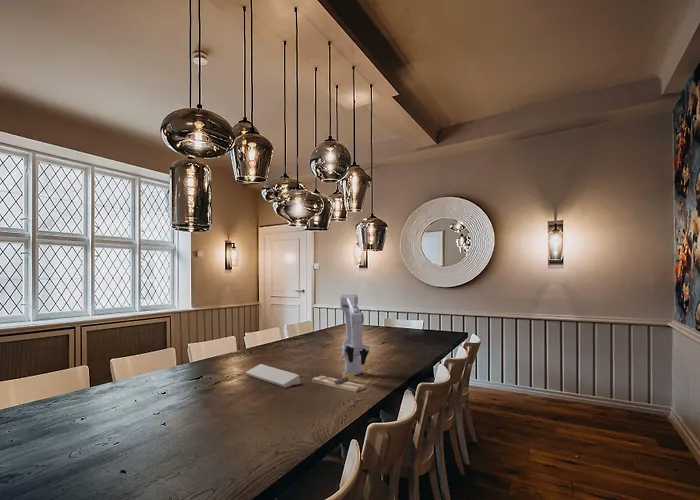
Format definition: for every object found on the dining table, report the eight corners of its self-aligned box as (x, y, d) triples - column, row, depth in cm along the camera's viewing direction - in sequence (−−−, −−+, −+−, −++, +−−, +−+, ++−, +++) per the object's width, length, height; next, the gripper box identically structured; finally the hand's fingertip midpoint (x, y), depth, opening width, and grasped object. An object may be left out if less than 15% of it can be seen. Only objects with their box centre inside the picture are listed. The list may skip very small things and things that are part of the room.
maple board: (320, 378, 198) (320, 375, 198) (364, 388, 181) (364, 385, 181) (311, 381, 192) (311, 378, 193) (355, 392, 175) (355, 388, 176)
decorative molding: (285, 393, 183) (300, 383, 190) (283, 384, 182) (298, 375, 189) (247, 380, 206) (262, 371, 213) (245, 372, 205) (260, 363, 212)
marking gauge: (348, 380, 194) (348, 371, 194) (354, 382, 191) (354, 372, 192) (332, 386, 184) (332, 376, 184) (338, 388, 182) (338, 377, 182)
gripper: (341, 336, 194) (341, 362, 193) (363, 339, 185) (364, 366, 185) (349, 334, 200) (349, 360, 199) (371, 337, 191) (372, 364, 190)
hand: (357, 363), depth 192 cm, fingers open, 7 cm apart
